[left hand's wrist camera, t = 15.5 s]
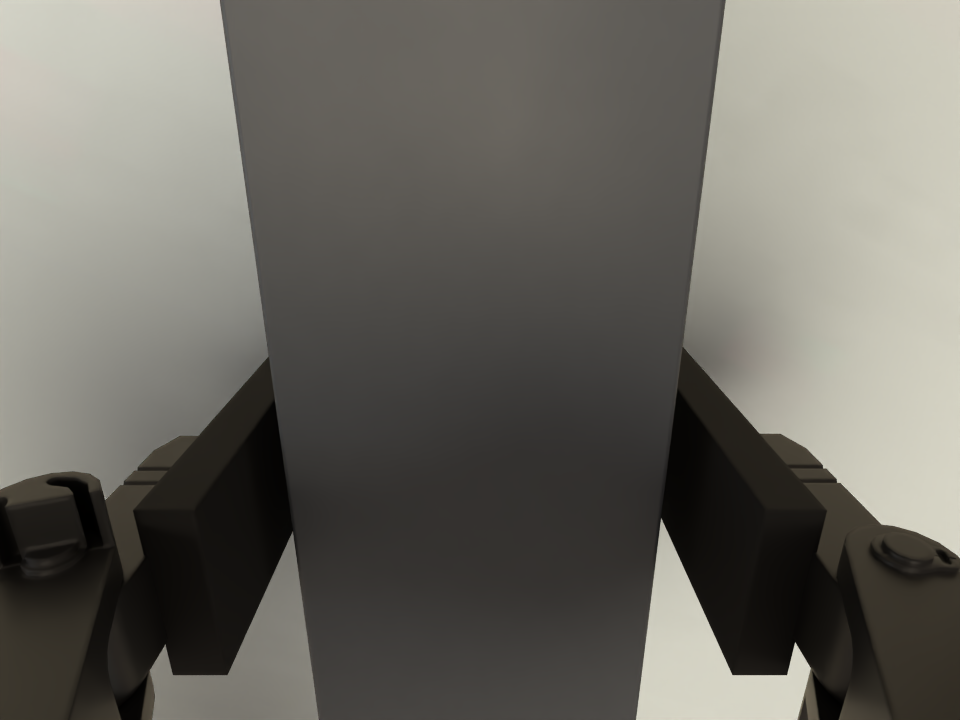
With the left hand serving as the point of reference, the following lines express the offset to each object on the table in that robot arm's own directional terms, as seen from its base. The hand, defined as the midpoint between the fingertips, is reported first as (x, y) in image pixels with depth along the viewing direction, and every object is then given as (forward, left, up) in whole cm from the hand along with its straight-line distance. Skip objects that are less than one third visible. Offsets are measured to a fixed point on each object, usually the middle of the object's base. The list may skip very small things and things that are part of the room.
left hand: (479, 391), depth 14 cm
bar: (+7, +22, -3) cm, 23 cm away
